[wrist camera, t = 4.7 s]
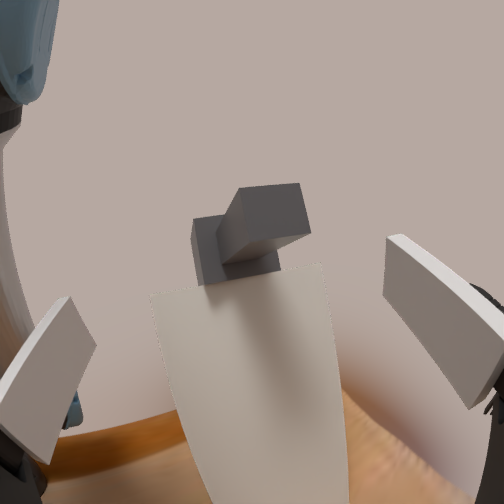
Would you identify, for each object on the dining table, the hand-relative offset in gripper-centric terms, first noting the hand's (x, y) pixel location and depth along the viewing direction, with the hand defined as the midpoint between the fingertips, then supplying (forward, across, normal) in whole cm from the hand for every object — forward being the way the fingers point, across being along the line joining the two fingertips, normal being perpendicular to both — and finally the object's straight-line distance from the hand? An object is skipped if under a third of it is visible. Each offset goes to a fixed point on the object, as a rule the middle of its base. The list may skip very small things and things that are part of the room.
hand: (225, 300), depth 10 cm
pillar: (+1, 0, -32) cm, 32 cm away
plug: (+10, 0, -4) cm, 11 cm away
